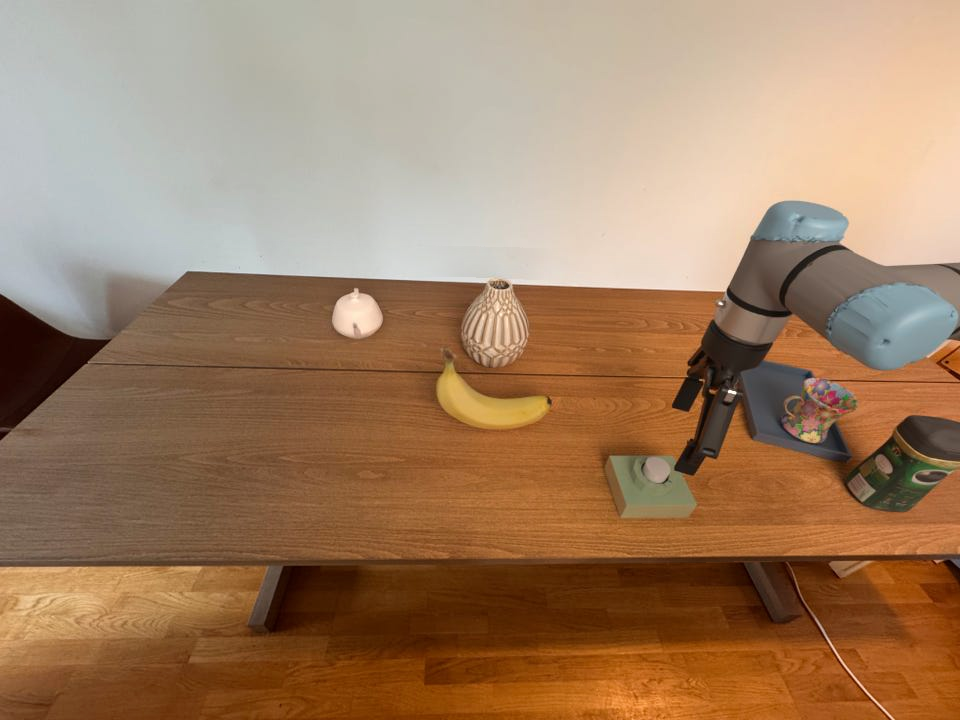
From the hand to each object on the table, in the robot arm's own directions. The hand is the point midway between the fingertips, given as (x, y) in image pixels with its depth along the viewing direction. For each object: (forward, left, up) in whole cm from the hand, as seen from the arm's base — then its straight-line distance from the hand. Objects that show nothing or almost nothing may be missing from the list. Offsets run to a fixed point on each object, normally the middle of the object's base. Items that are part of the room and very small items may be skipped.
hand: (681, 437), depth 67 cm
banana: (+4, +32, -14) cm, 35 cm away
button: (-2, +2, -8) cm, 9 cm away
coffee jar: (+12, -39, -14) cm, 44 cm away
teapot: (+23, +73, -14) cm, 78 cm away
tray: (+32, -28, -14) cm, 45 cm away
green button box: (-2, +2, -14) cm, 14 cm away
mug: (+25, -29, -14) cm, 40 cm away
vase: (+25, +38, -14) cm, 48 cm away
